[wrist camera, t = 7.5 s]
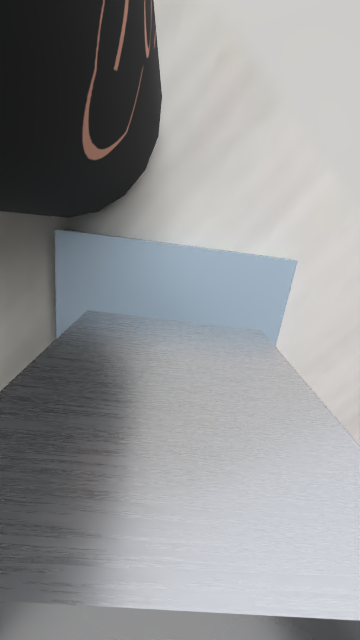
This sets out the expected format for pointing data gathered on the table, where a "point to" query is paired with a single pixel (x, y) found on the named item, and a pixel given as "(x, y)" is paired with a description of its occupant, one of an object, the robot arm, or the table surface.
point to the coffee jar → (75, 102)
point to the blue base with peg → (168, 282)
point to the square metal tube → (174, 490)
